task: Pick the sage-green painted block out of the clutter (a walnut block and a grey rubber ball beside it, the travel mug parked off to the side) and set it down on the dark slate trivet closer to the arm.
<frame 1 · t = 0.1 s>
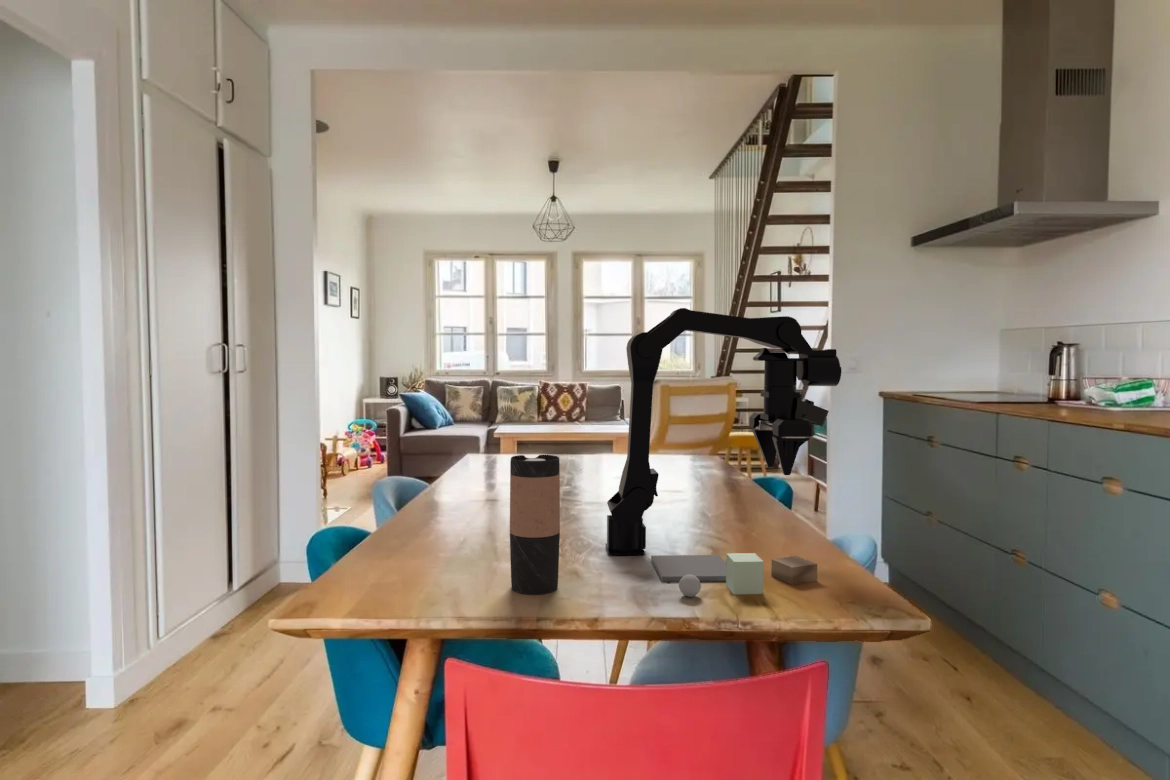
hand: (778, 471, 131), 15 cm above the table, fingers open, 9 cm apart
walnut block: (793, 579, 115), on the table
slate trivet: (692, 569, 119), on the table
travel mug: (534, 588, 110), on the table
sage block: (744, 589, 109), on the table
grey ball: (689, 585, 106), point 2 cm above the table
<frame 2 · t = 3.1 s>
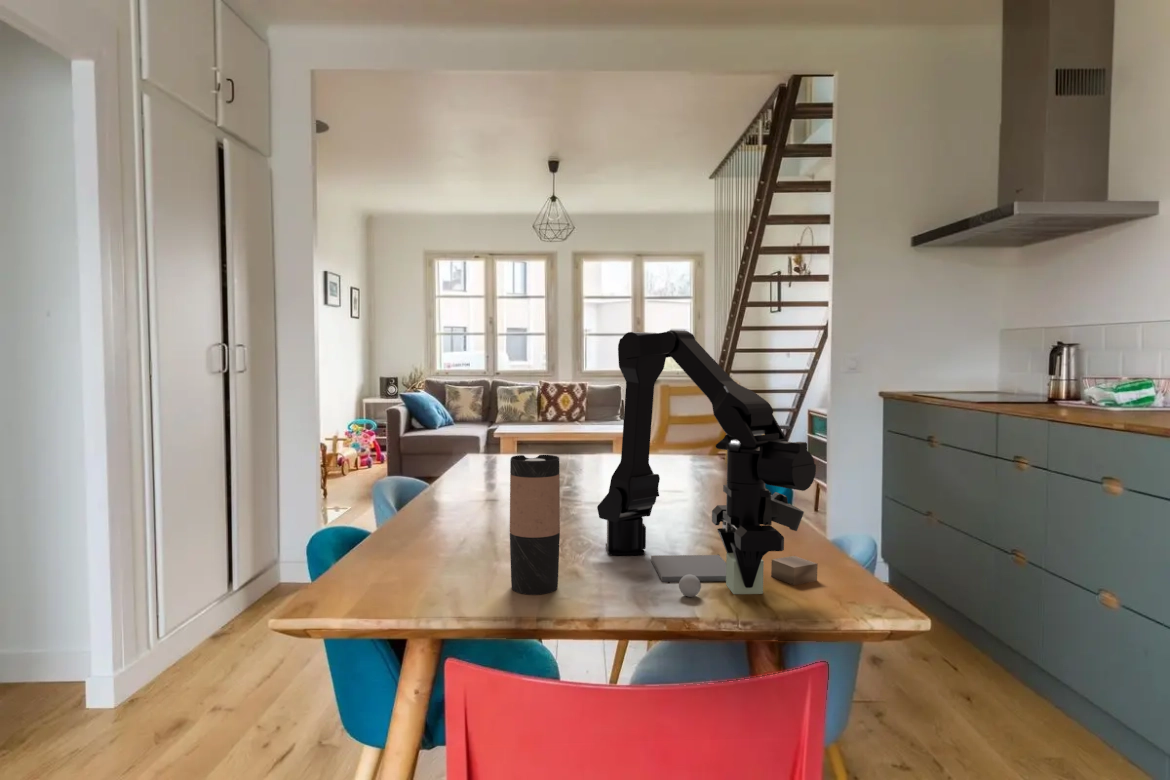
hand: (744, 582, 109), 1 cm above the table, fingers closed on sage block, 4 cm apart
sage block: (744, 589, 109), on the table, touching gripper
everything else where it was.
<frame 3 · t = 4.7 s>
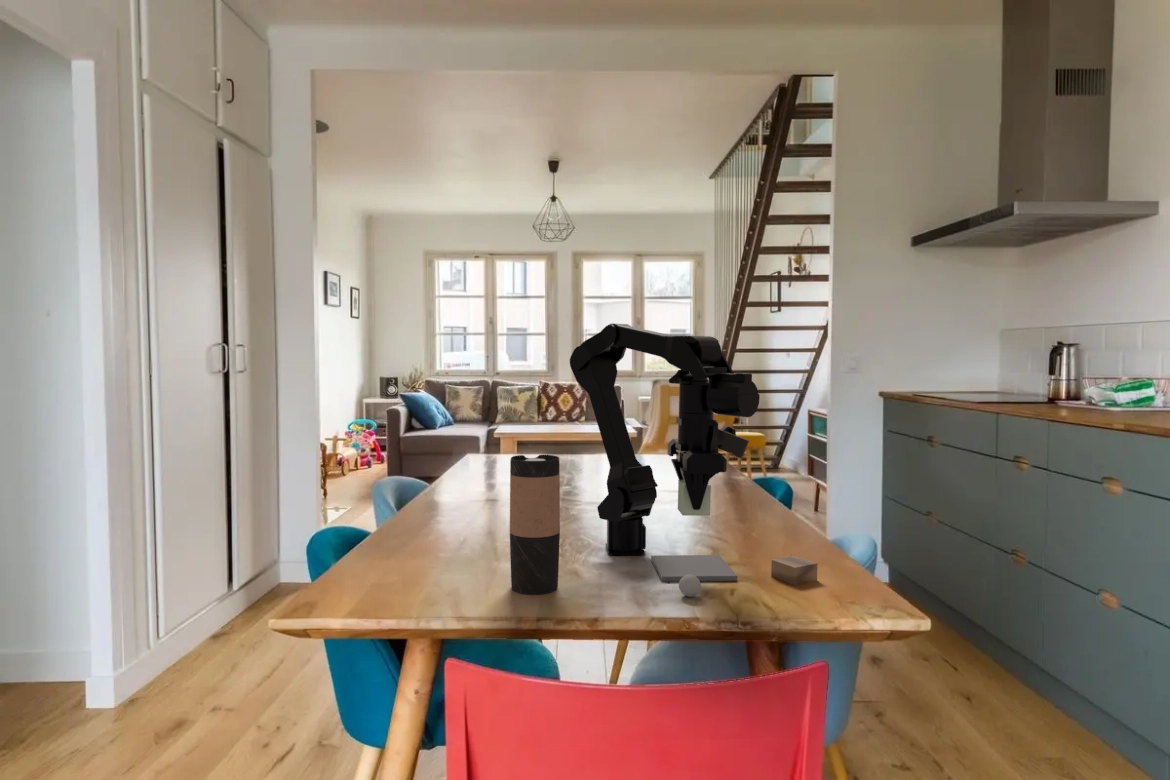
hand: (693, 506, 118), 11 cm above the table, fingers closed on sage block, 4 cm apart
sage block: (693, 512, 118), point 10 cm above the table, touching gripper
everything else where it was.
when the fingers open (3 cm above the table, at t = 6.3 s): sage block drops 1 cm, resting on slate trivet.
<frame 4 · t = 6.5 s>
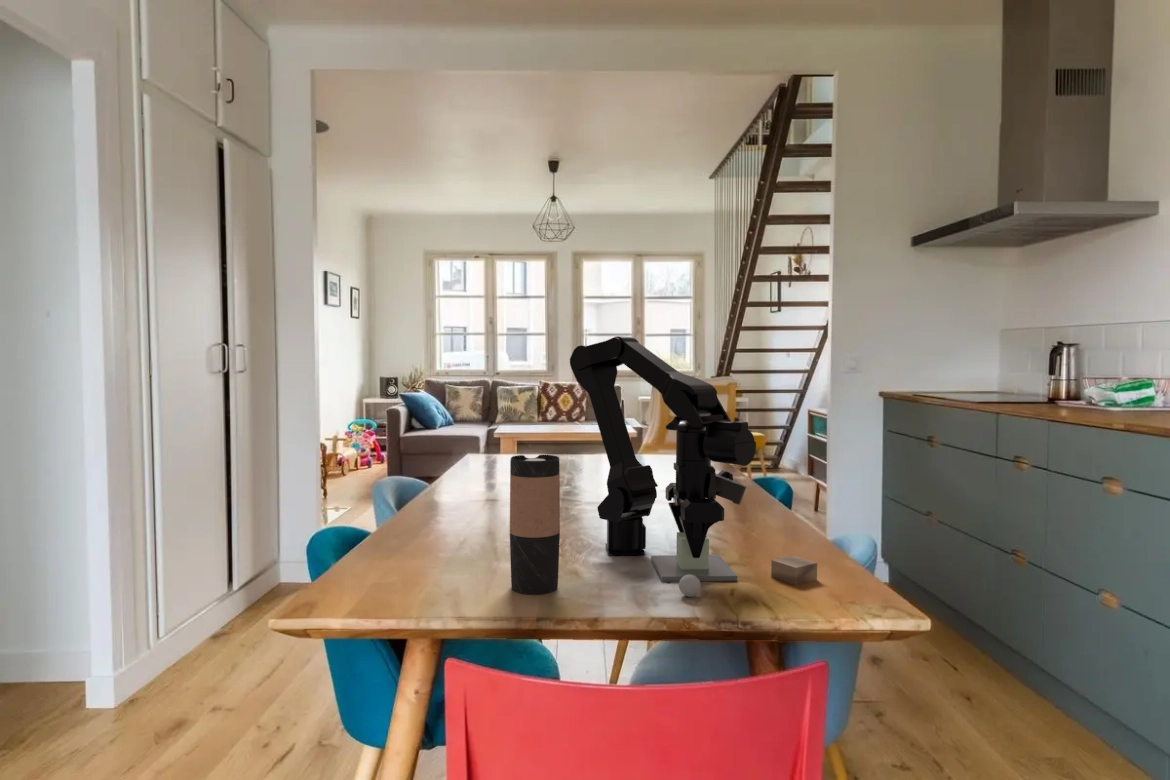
hand: (692, 552, 119), 3 cm above the table, fingers open, 6 cm apart
sage block: (692, 565, 119), point 1 cm above the table, touching slate trivet
everything else where it was.
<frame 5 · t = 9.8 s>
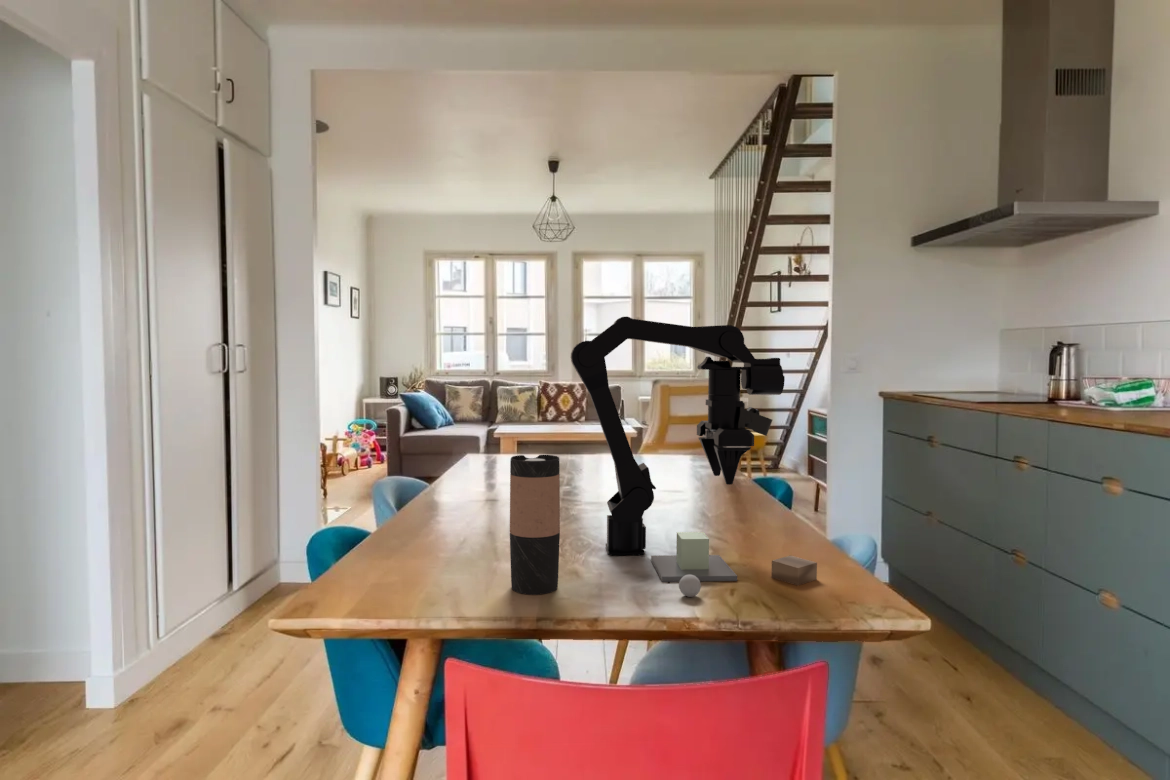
hand: (722, 479, 131), 13 cm above the table, fingers open, 9 cm apart
nothing on the table moved.
at the end: sage block inside the target area on the slate trivet (0.0 cm from its centre), point 0.8 cm above the slate trivet's base; sage block tilted 0°; the gripper is holding nothing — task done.
